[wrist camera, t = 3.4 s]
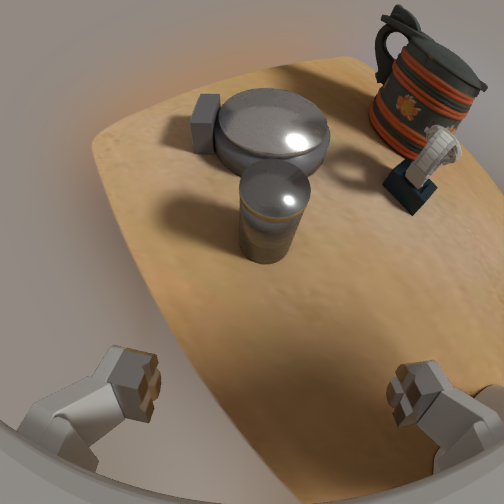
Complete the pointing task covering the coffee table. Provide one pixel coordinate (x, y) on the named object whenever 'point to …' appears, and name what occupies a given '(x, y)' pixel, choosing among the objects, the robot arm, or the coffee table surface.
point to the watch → (422, 169)
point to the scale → (235, 159)
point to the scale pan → (272, 123)
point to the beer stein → (418, 86)
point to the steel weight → (271, 208)
